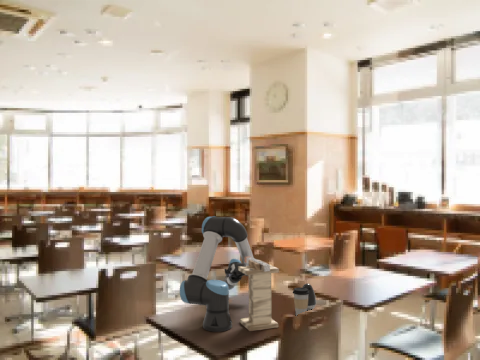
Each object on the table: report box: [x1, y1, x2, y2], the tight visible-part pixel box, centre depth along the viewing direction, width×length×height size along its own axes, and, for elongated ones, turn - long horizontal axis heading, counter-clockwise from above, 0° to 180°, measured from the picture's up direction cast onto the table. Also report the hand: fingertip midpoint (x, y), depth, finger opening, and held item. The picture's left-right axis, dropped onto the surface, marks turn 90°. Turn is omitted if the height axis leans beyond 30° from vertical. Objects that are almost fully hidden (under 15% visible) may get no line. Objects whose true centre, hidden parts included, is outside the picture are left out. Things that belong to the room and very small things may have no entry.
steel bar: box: [245, 256, 271, 272], centre depth 217 cm, size 28×3×3 cm, turn 20°
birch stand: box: [238, 259, 280, 332], centre depth 214 cm, size 14×18×33 cm
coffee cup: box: [292, 287, 309, 317], centre depth 229 cm, size 9×9×15 cm
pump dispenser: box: [301, 283, 317, 311], centre depth 242 cm, size 10×10×15 cm
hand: (245, 265), depth 235 cm, fingers open, 13 cm apart
